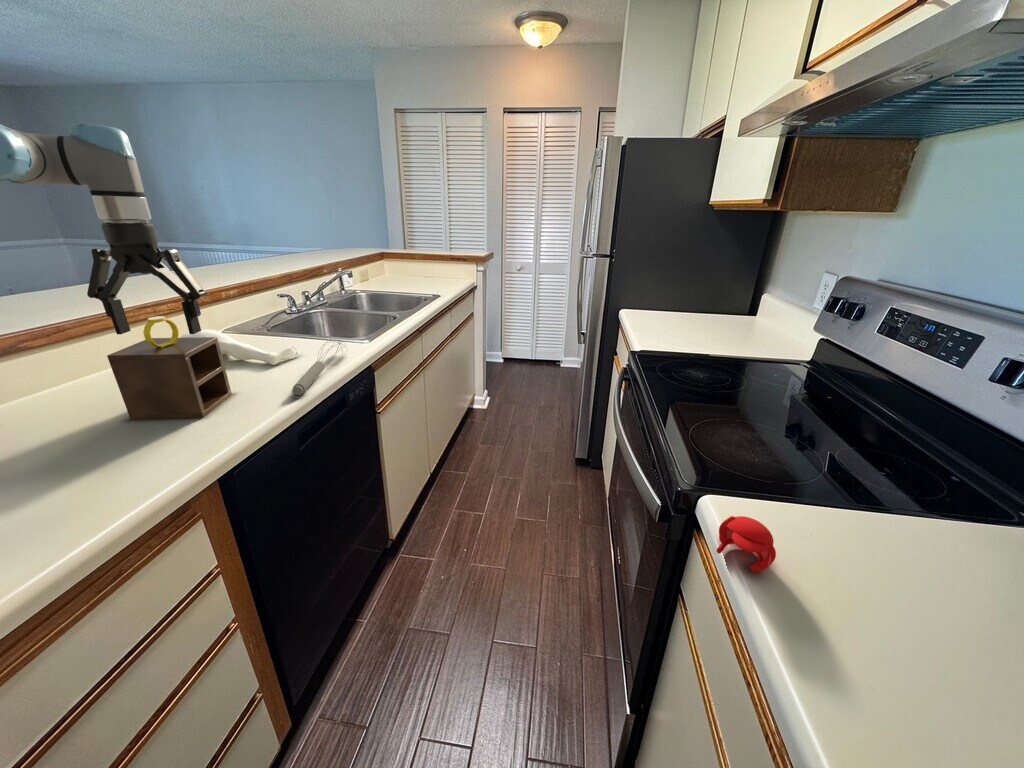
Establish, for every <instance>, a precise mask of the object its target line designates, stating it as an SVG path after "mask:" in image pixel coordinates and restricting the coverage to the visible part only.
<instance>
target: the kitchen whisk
mask: <svg viewBox="0 0 1024 768" xmlns="http://www.w3.org/2000/svg"><path fill="white" fill-rule="evenodd" d="M331 339H332V337H329V338H328V339H327V340H326V341H325V342H324V344H323V346H320V348H319V350H318V354H317V358H316V361H315V362H314V363H313V364H312V365H311V367H310V368H309V369H308V370H307V371H306V372H305V373H304V374H303V375H302V376H301V377H300V378H299V379H298V380H297V382H296V383H295V384H294V385H293V386H292V388H291V394H292V396H293V397H294V398H296V396H298V398H300V397H301V396H302V395H303V394H304V393H305V392H306V391H307V390H308V389H309V387H310V386H311V385H312V384H313V383H314V381H315V380H316V379H317V378H318V377H319V375H320V374H321V373H322V372H323V371H324V370H325V368H327V367H331V366H332V365H335V364H337V363H338V362H339V361H340V360H341V359H342V357H344V356H345V355H346V354H347V353H348V350H346V352H345V353H344V352H343V351H344V350H341V355H340V357H339V358H337V359H335V360H334V361H330V360H331V359H333V358H334V357H335V355H336V354H337V353H338V351H339V348H340V349H343V347H345V349H348V348H347V346H346V343H347V342H344V341H341V337H340V336H339V337H338V338H336V337H333V339H334V340H335V341H333V340H331ZM329 340H331V341H329ZM327 343H333V344H331V345H330V348H328V349H327V350H326V351H325V352H323V351H324V348H325V346H326V344H327ZM335 343H336V344H335ZM343 343H344V344H343ZM337 345H338V346H337ZM335 346H337V349H336V351H335V353H334V354H332V356H331V357H330V358H328V359H327V360H326V361H325V362H323V361H324V359H325V357H326V356H327V354H328V353H329V351H330V350H331V349H332V348H333V347H335ZM320 351H321V352H320ZM322 353H323V354H322ZM343 353H344V354H343ZM321 359H322V360H321ZM329 361H330V362H329ZM295 395H296V396H295Z"/></svg>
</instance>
